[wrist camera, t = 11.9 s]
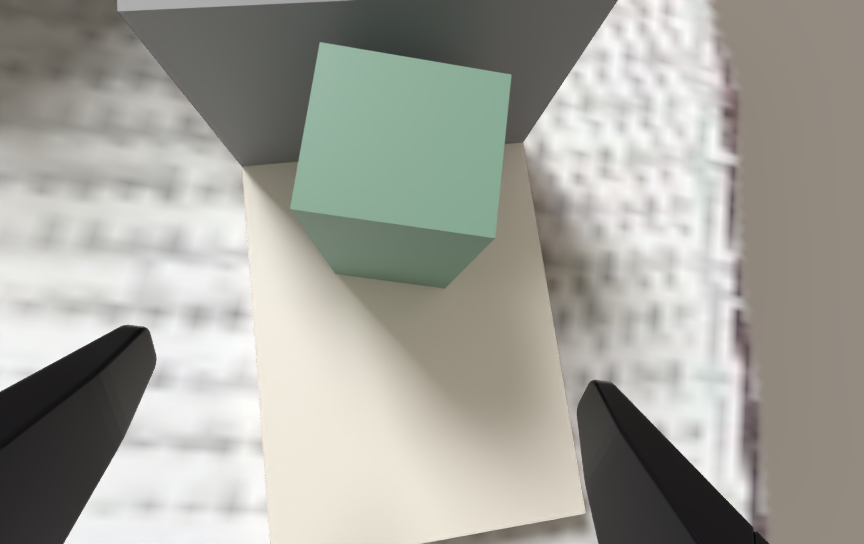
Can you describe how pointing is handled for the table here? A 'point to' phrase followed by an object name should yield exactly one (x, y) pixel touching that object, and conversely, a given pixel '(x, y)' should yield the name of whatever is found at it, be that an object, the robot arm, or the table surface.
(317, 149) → the mint green square pillar
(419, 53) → the shelf board
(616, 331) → the table surface
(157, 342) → the table surface
